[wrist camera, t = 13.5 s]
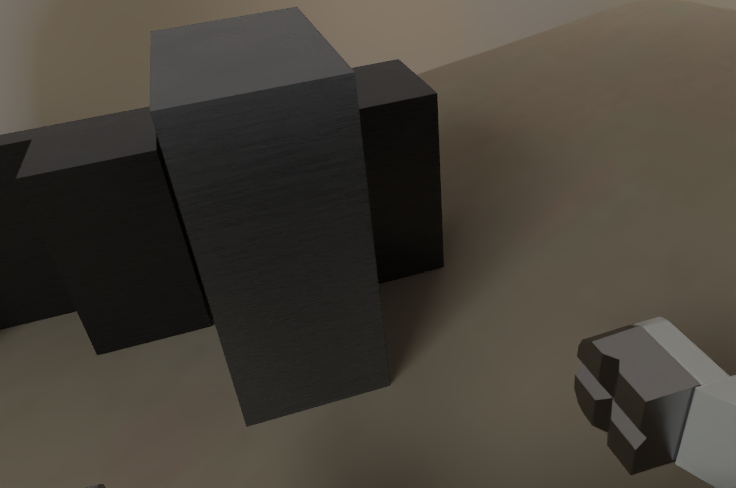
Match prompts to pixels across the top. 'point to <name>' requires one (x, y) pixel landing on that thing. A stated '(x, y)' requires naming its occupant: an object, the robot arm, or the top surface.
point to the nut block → (274, 205)
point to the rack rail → (164, 220)
